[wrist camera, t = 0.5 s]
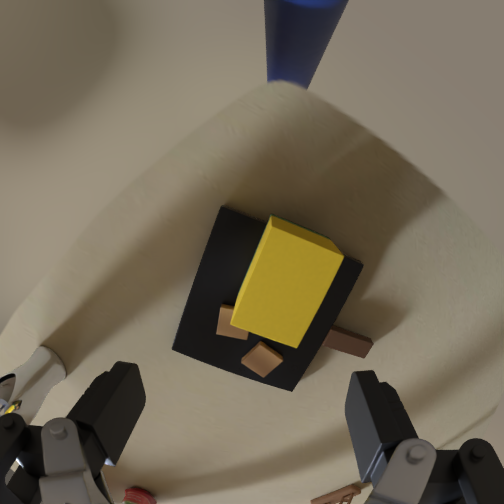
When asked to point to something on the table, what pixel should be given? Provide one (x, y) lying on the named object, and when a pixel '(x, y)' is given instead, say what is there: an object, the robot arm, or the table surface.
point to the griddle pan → (225, 292)
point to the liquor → (138, 497)
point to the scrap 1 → (226, 327)
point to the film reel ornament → (338, 496)
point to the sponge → (286, 282)
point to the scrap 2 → (262, 359)
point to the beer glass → (30, 384)
